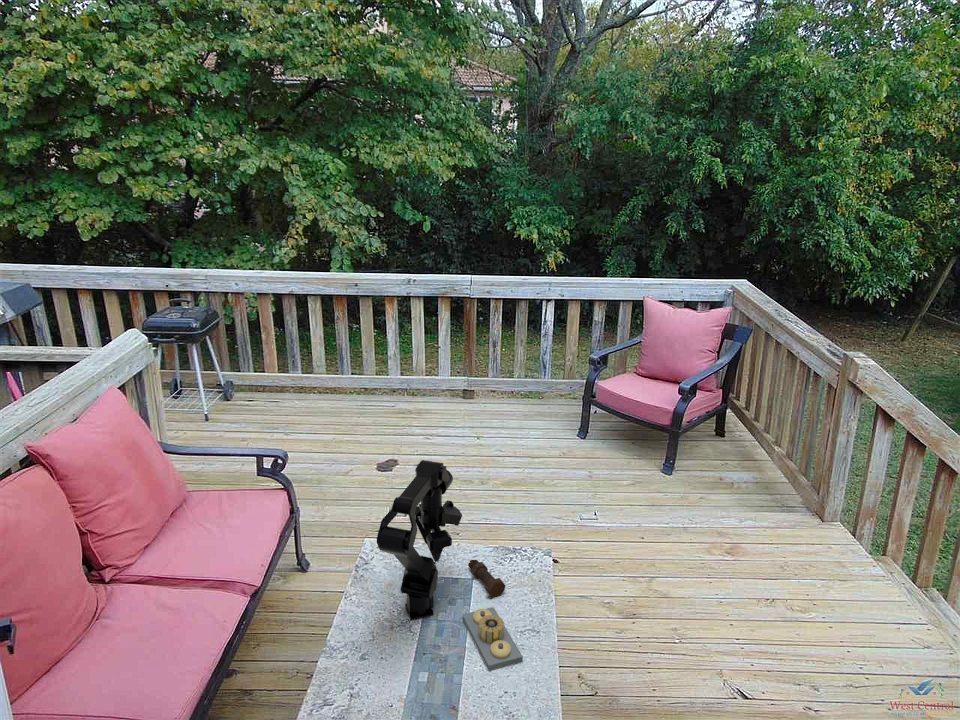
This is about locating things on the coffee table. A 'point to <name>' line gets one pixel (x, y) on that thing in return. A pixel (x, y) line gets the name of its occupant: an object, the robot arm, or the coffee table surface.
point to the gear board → (499, 650)
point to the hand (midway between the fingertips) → (431, 552)
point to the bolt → (487, 578)
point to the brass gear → (491, 629)
